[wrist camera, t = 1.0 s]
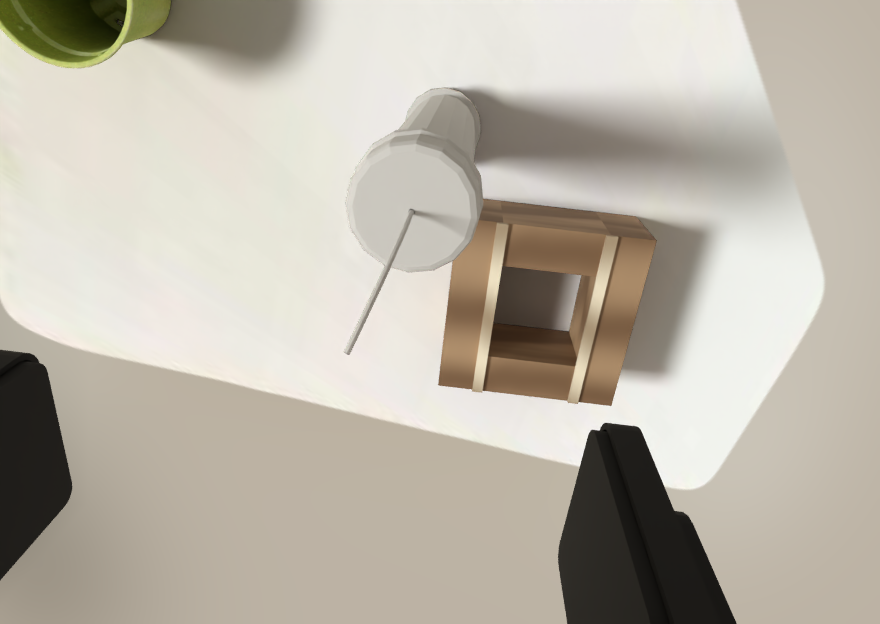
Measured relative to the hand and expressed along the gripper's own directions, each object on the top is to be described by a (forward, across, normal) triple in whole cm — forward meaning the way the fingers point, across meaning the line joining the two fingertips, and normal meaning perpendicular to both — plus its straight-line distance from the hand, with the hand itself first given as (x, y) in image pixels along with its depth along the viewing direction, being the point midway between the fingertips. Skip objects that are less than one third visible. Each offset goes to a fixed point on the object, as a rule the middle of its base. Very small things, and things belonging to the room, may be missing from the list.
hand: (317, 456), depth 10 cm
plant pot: (+38, +23, -7) cm, 45 cm away
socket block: (+38, -9, +12) cm, 41 cm away
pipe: (+38, 0, 0) cm, 38 cm away
